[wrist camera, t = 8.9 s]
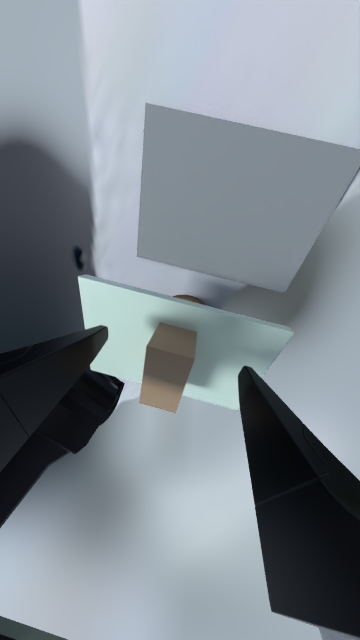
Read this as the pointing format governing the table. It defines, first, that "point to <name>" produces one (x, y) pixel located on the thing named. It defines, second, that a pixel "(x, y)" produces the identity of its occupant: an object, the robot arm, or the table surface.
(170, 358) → the lid
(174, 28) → the table surface
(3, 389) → the robot arm
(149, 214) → the mat
